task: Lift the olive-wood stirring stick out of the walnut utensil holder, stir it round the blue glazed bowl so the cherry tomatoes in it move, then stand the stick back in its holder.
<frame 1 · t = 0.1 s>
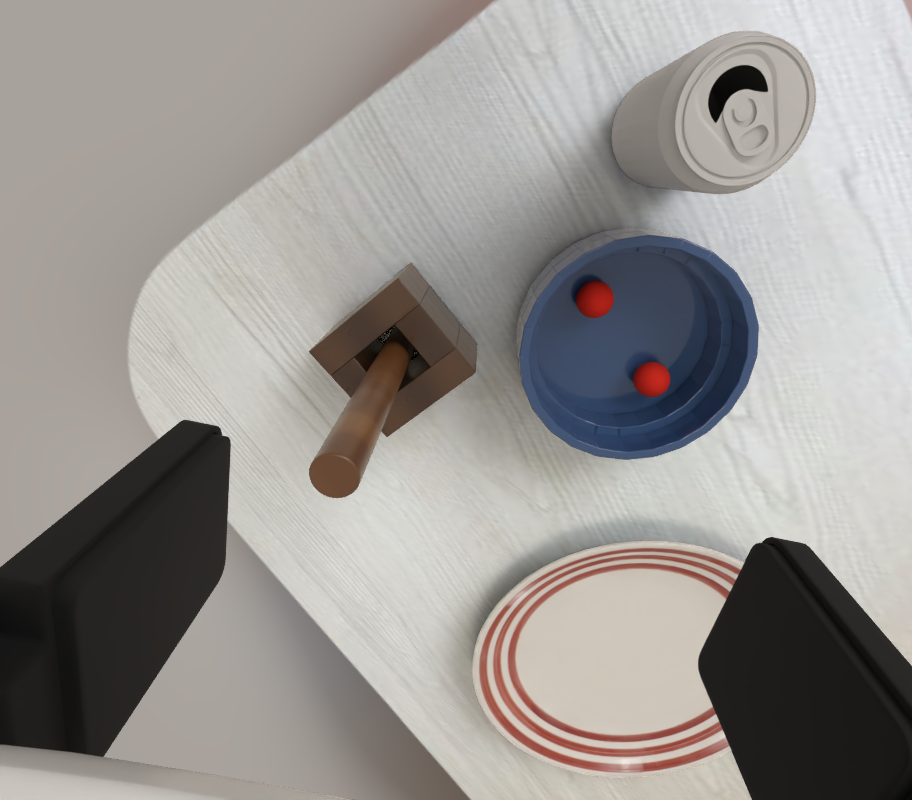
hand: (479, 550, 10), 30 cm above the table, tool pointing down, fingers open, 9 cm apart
beverage can: (660, 132, 34), on the table
bowl: (617, 332, 39), on the table
holder: (405, 335, 40), on the table
tomato a: (647, 373, 39), point 1 cm above the table, touching bowl
stirring stick: (380, 385, 31), in the holder
dinner plate: (625, 644, 50), on the table
tomato b: (591, 295, 37), point 1 cm above the table, touching bowl
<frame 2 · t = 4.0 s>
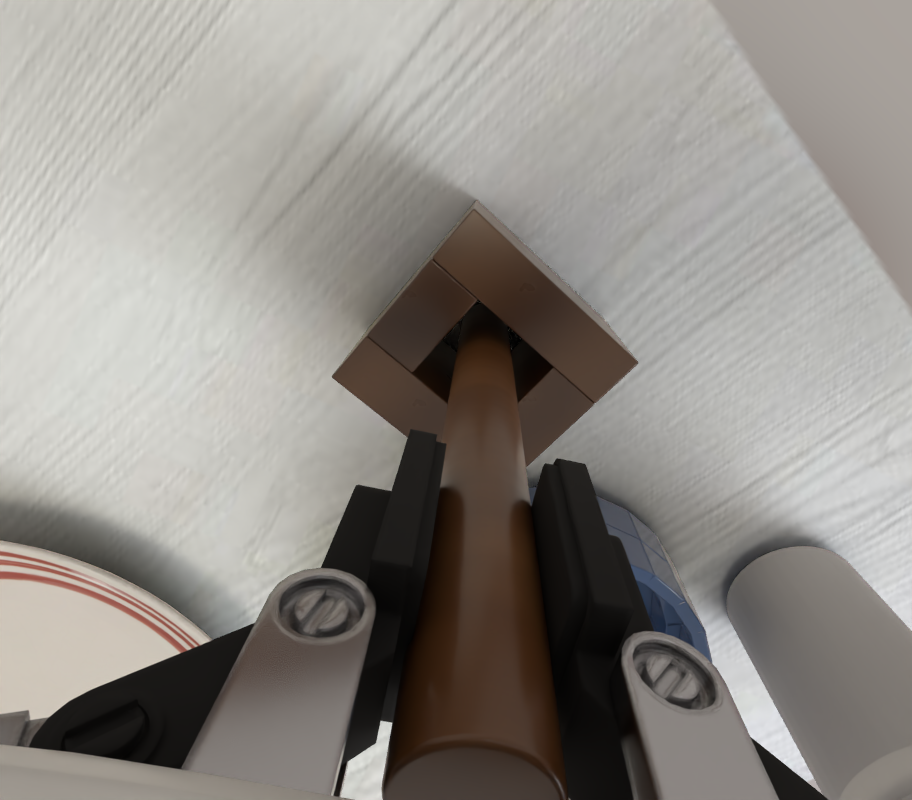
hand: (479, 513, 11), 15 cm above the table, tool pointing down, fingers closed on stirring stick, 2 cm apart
beverage can: (781, 585, 29), on the table
bowl: (536, 593, 30), on the table
holder: (483, 325, 24), on the table
stirring stick: (482, 419, 15), in the holder, touching gripper
dinner plate: (81, 688, 35), on the table
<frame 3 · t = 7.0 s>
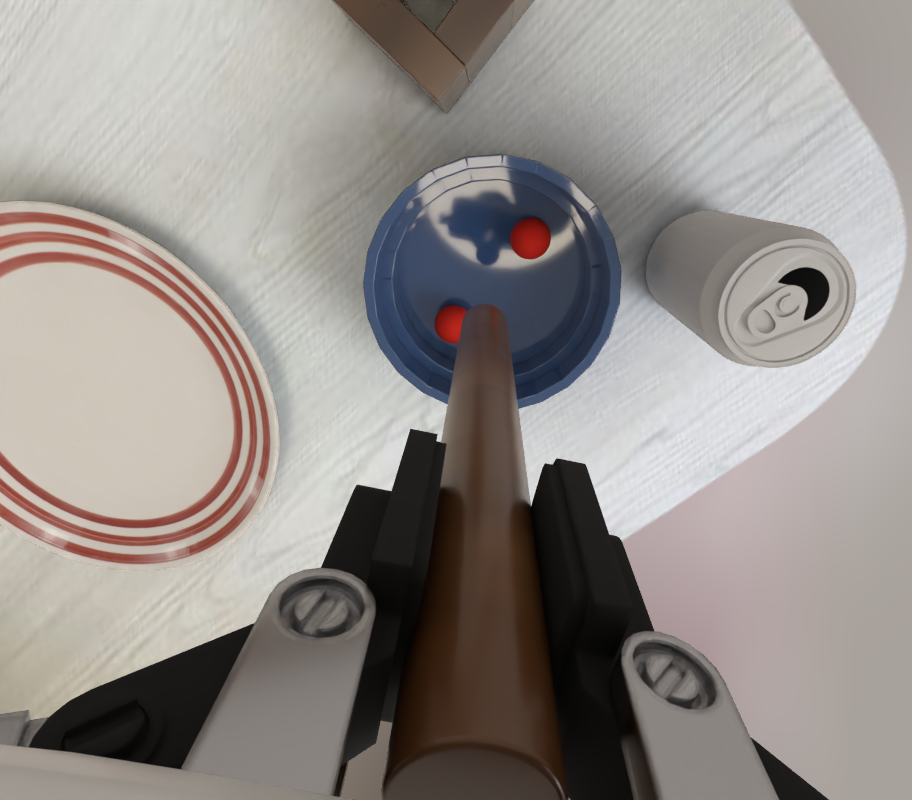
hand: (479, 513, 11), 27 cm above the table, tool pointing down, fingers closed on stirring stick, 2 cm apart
beverage can: (692, 262, 35), on the table
bowl: (490, 277, 36), on the table
holder: (439, 7, 30), on the table
tomato a: (454, 319, 36), point 1 cm above the table, touching bowl
stirring stick: (482, 419, 15), point 22 cm above the table, touching gripper
dinner plate: (112, 395, 41), on the table
tomato b: (529, 236, 34), point 1 cm above the table, touching bowl
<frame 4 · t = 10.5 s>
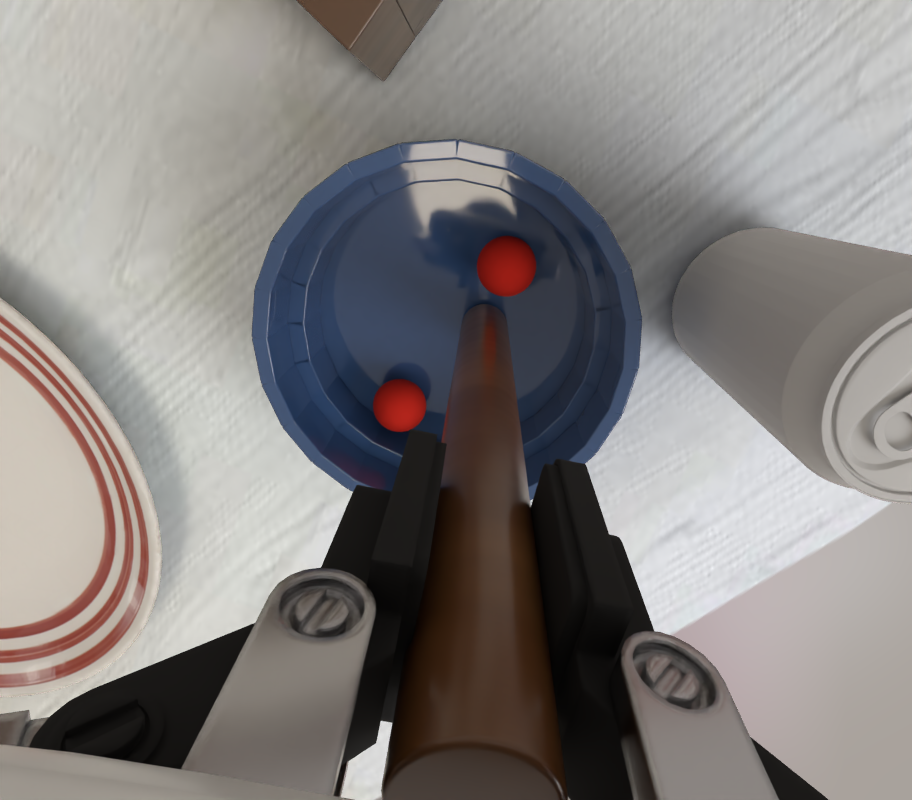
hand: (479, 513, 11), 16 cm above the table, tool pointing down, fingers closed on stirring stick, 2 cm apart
beverage can: (737, 300, 25), on the table
bowl: (452, 317, 25), on the table
tomato a: (401, 381, 26), point 1 cm above the table, tilted 45°, touching bowl
stirring stick: (482, 419, 15), point 11 cm above the table, touching gripper
tomato b: (505, 262, 24), point 1 cm above the table, touching bowl
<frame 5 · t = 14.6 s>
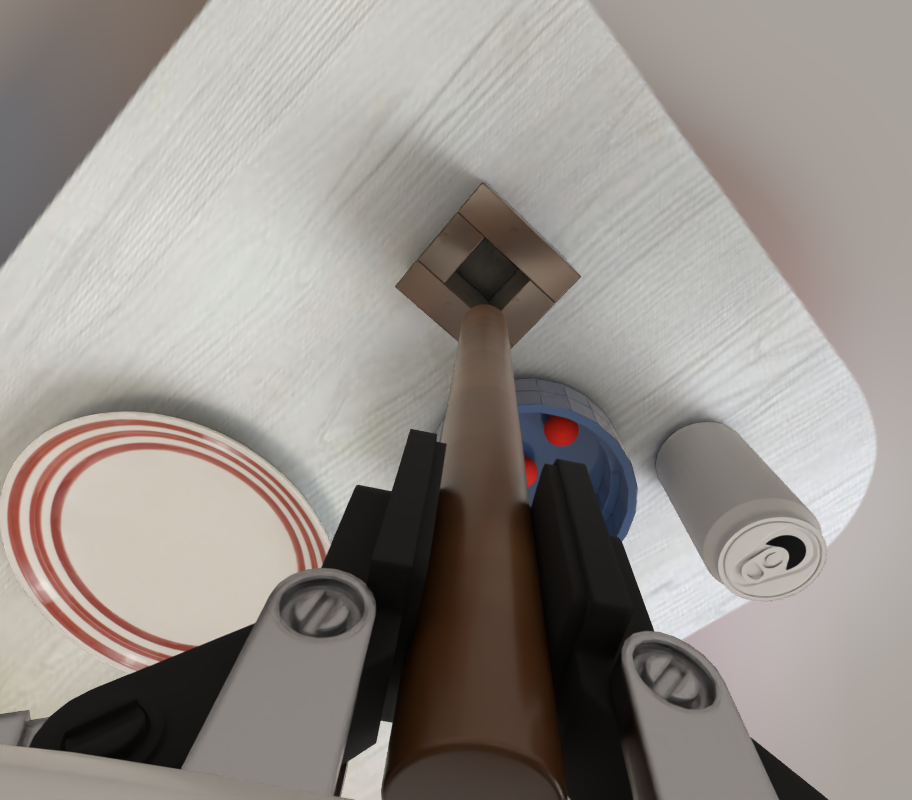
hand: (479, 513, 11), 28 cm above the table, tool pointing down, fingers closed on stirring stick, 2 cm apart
beverage can: (696, 455, 41), on the table
bowl: (523, 462, 42), on the table
holder: (487, 265, 37), on the table
tomato a: (515, 480, 39), point 3 cm above the table, tilted 159°, touching bowl
stirring stick: (482, 420, 15), point 24 cm above the table, touching gripper
dinner plate: (189, 544, 47), on the table
tomato b: (558, 437, 40), point 1 cm above the table, tilted 56°, touching bowl
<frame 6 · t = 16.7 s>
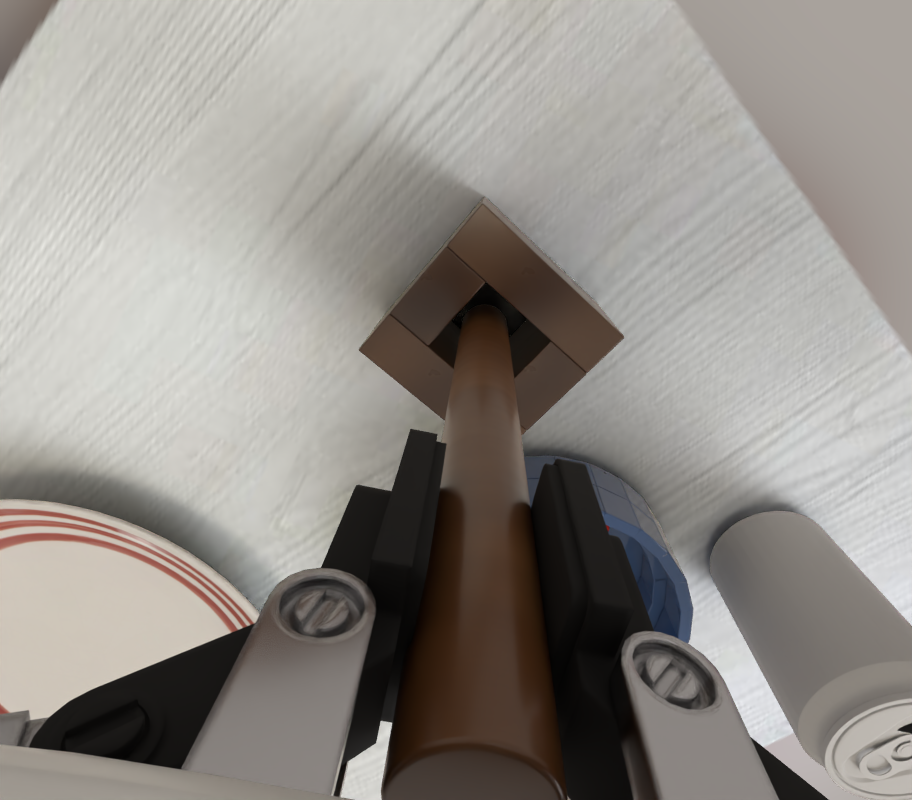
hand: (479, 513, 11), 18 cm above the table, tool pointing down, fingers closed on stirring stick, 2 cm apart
beverage can: (760, 548, 32), on the table
bowl: (536, 556, 33), on the table
holder: (489, 309, 27), on the table
stirring stick: (482, 420, 15), point 13 cm above the table, touching gripper
dinner plate: (118, 646, 38), on the table
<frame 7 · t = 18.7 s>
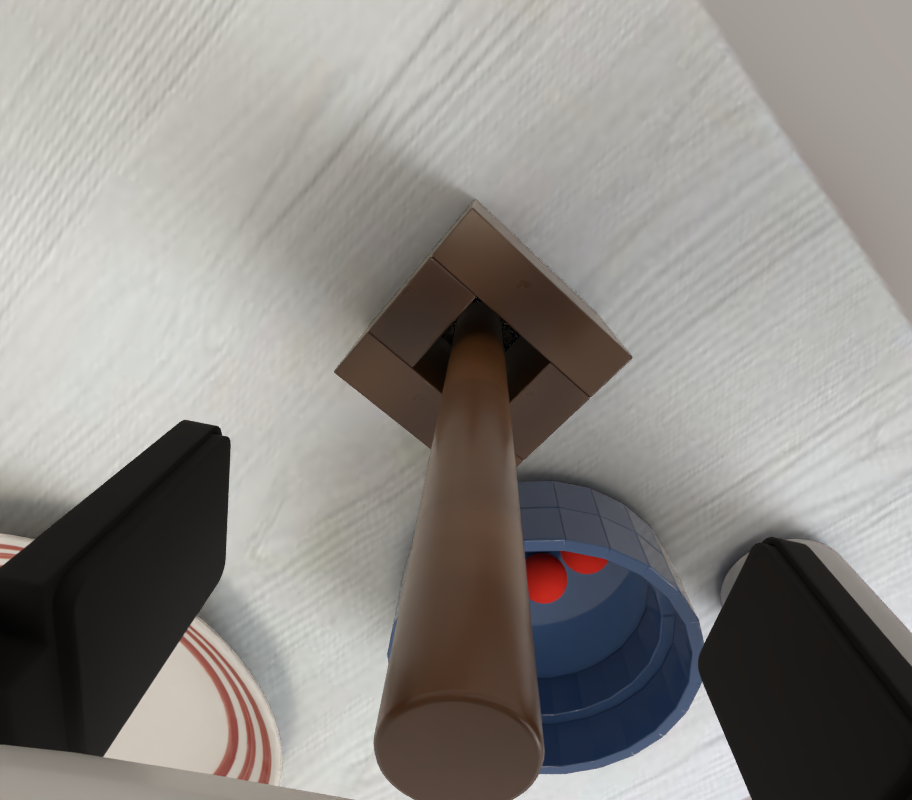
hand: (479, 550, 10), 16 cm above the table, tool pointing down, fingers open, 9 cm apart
beverage can: (775, 577, 29), on the table
bowl: (533, 586, 30), on the table
holder: (481, 322, 25), on the table
tomato a: (546, 559, 27), point 2 cm above the table, tilted 92°, touching bowl
stirring stick: (474, 412, 16), in the holder
dinner plate: (85, 681, 35), on the table
tomato b: (583, 561, 28), point 2 cm above the table, tilted 70°, touching bowl
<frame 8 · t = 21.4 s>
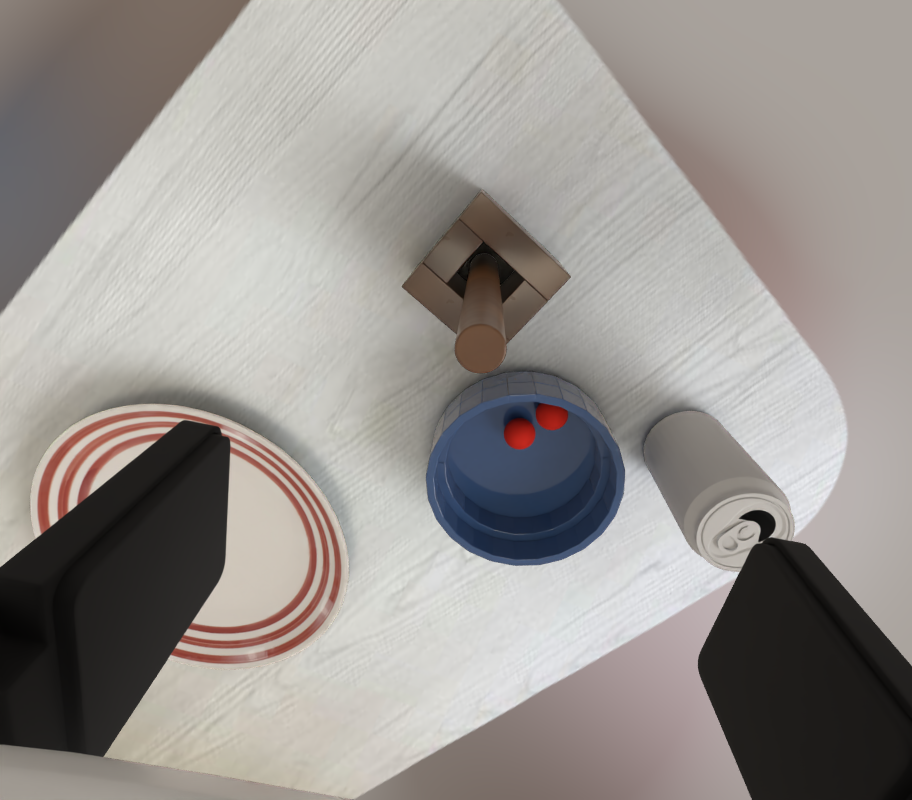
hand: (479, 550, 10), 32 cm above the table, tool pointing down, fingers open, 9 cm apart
beverage can: (680, 442, 44), on the table
bowl: (520, 450, 45), on the table
holder: (485, 266, 40), on the table
tomato a: (521, 418, 42), point 2 cm above the table, tilted 84°, touching bowl
stirring stick: (482, 296, 30), in the holder
dinner plate: (206, 530, 50), on the table
tomato b: (551, 425, 42), point 2 cm above the table, tilted 71°, touching bowl
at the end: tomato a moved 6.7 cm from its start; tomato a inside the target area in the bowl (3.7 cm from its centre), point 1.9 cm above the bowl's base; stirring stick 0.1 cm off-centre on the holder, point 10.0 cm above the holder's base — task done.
